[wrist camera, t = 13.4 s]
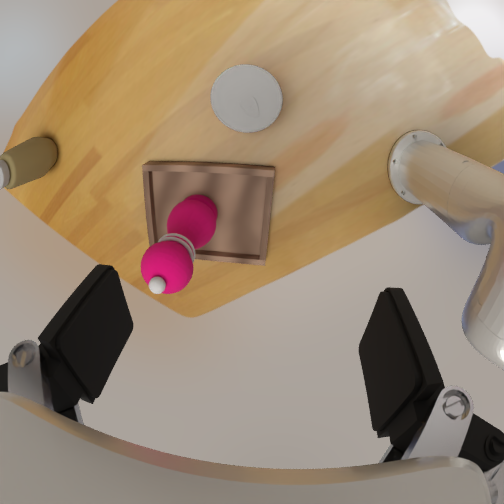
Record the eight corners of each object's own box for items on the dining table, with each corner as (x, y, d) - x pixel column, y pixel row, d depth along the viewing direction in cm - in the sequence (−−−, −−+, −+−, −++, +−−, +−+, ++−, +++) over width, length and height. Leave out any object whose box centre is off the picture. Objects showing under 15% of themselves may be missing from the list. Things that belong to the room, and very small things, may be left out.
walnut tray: (274, 166, 40) (274, 170, 38) (265, 257, 48) (264, 265, 46) (148, 161, 40) (142, 165, 38) (155, 247, 49) (150, 254, 47)
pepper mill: (229, 220, 44) (203, 303, 27) (194, 239, 46) (153, 323, 29) (204, 182, 41) (156, 247, 24) (169, 205, 43) (110, 277, 26)
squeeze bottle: (46, 179, 42) (-17, 217, 27) (31, 147, 39) (-34, 177, 23) (67, 158, 40) (-2, 193, 25) (52, 124, 37) (-20, 149, 21)
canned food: (252, 135, 38) (246, 147, 28) (214, 99, 35) (194, 98, 26) (291, 102, 35) (299, 101, 25) (252, 64, 32) (245, 50, 23)
